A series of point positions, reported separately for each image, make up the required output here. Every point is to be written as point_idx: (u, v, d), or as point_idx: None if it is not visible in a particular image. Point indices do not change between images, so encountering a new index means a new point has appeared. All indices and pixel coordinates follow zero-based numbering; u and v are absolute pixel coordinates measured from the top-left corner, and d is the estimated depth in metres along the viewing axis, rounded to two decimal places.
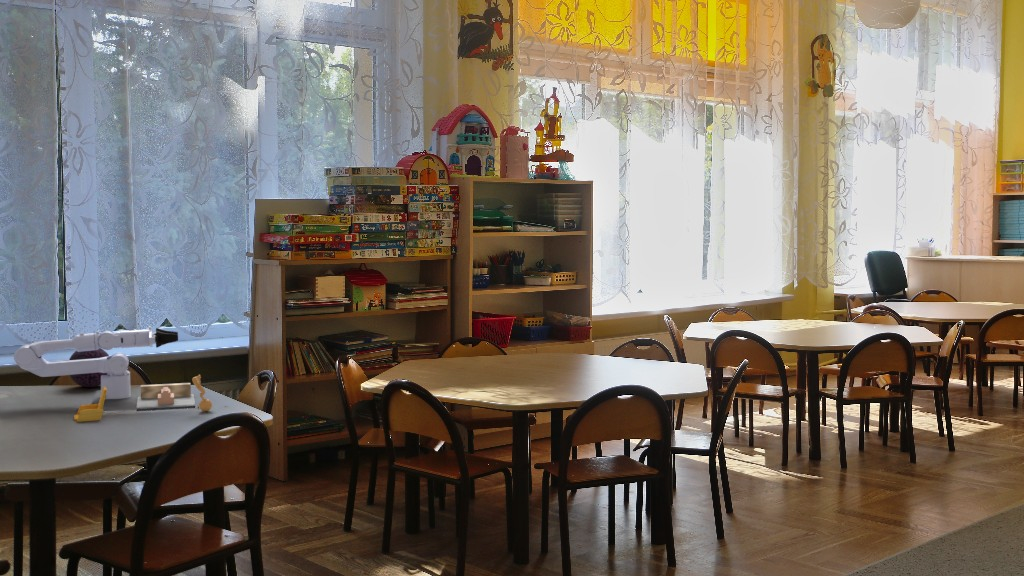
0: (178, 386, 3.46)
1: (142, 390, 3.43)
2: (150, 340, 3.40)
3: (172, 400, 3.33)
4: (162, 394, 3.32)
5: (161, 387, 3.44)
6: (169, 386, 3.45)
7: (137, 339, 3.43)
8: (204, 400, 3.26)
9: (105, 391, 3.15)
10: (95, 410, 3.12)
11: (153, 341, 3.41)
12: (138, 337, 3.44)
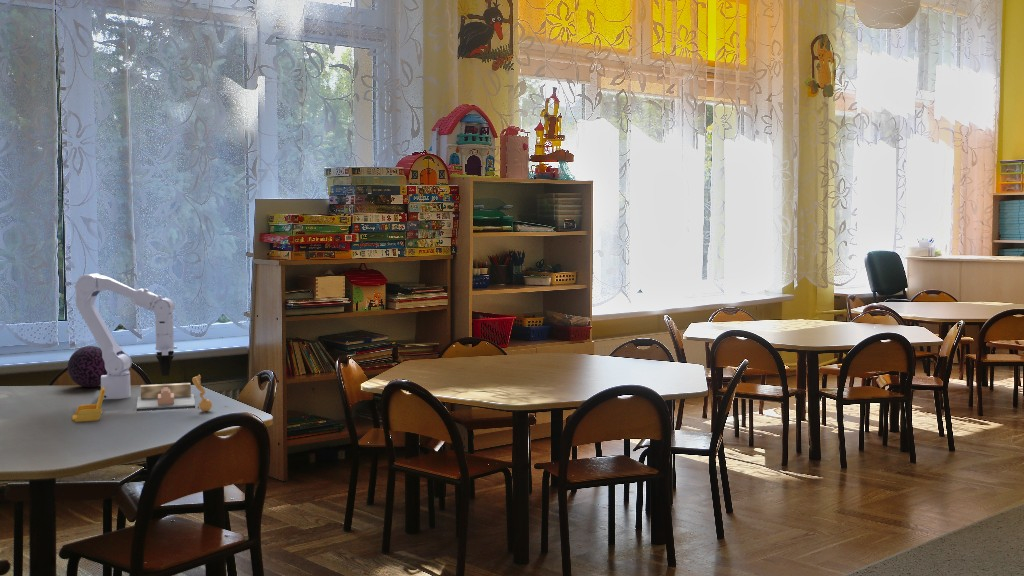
0: (178, 386, 3.46)
1: (142, 390, 3.43)
2: (164, 350, 3.38)
3: (172, 400, 3.33)
4: (162, 394, 3.32)
5: (161, 387, 3.44)
6: (169, 386, 3.45)
7: (164, 336, 3.42)
8: (204, 400, 3.26)
9: (103, 391, 3.14)
10: (93, 410, 3.12)
11: (163, 353, 3.38)
12: (166, 337, 3.43)
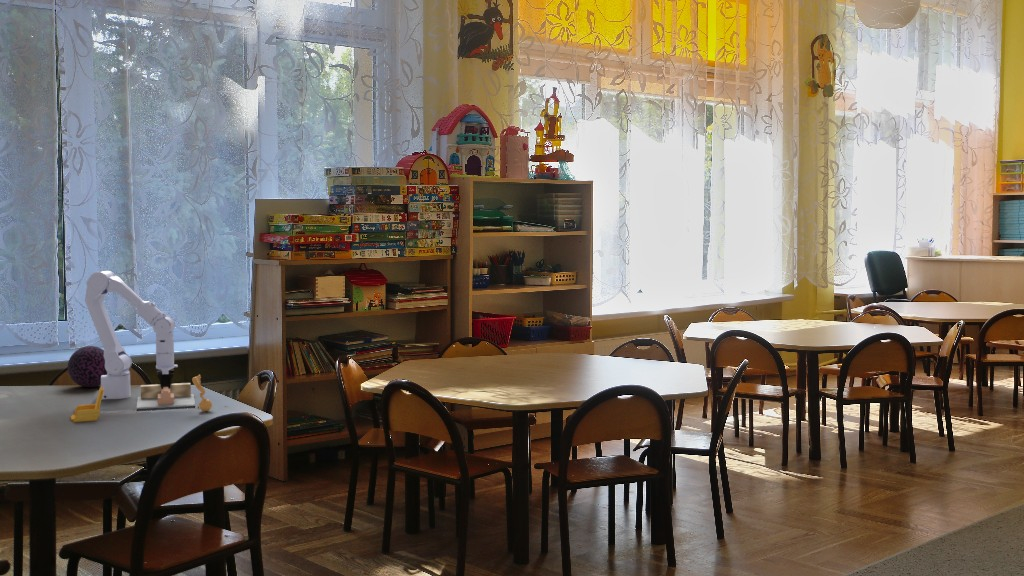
0: (178, 386, 3.46)
1: (142, 390, 3.43)
2: (165, 369, 3.39)
3: (172, 400, 3.33)
4: (162, 394, 3.32)
5: None
6: None
7: (165, 355, 3.43)
8: (204, 400, 3.26)
9: (102, 391, 3.14)
10: (92, 410, 3.12)
11: (163, 372, 3.39)
12: (166, 356, 3.43)
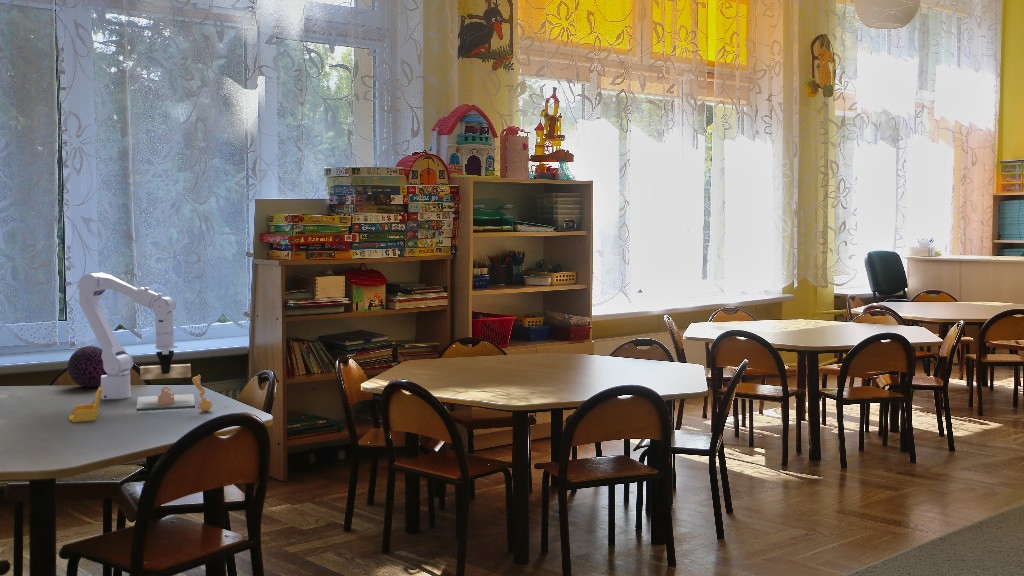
0: (178, 367, 3.43)
1: (142, 371, 3.39)
2: (165, 349, 3.36)
3: (172, 400, 3.33)
4: (162, 394, 3.32)
5: None
6: None
7: (164, 335, 3.40)
8: (204, 400, 3.26)
9: (100, 391, 3.14)
10: (90, 410, 3.12)
11: (163, 352, 3.36)
12: (166, 336, 3.40)
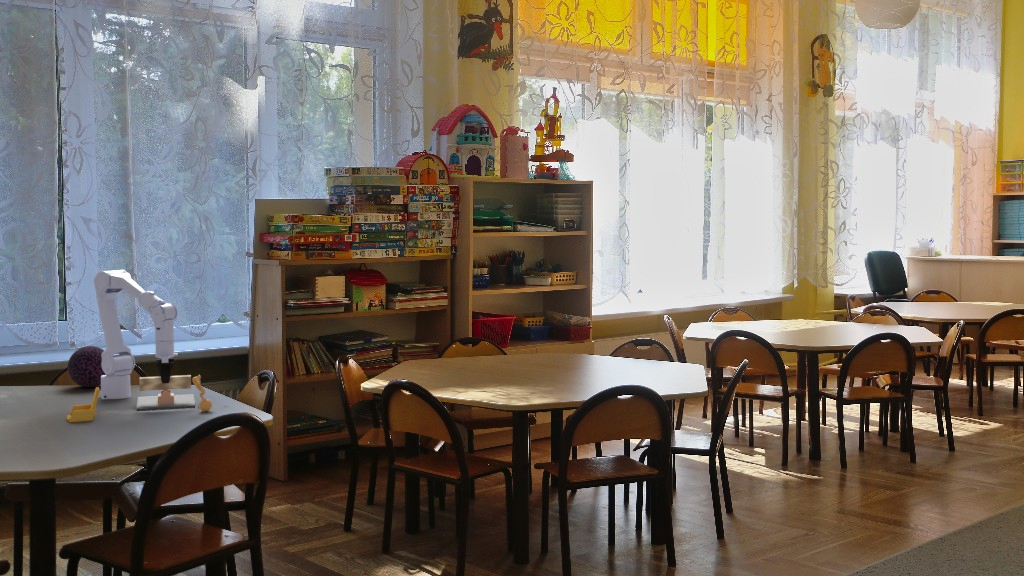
0: (178, 378, 3.35)
1: (141, 382, 3.32)
2: (164, 358, 3.28)
3: (172, 400, 3.33)
4: (162, 394, 3.32)
5: None
6: None
7: (164, 343, 3.32)
8: (204, 400, 3.26)
9: (98, 391, 3.14)
10: (87, 410, 3.12)
11: (163, 361, 3.28)
12: (166, 344, 3.32)
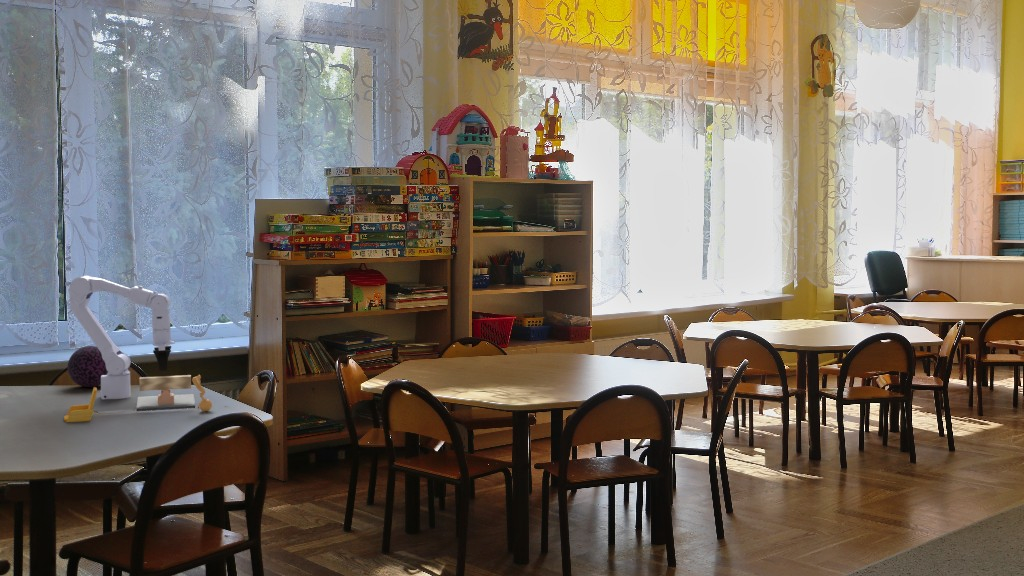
0: (178, 378, 3.35)
1: (141, 382, 3.32)
2: (161, 346, 3.40)
3: (172, 400, 3.33)
4: (162, 394, 3.32)
5: (161, 379, 3.34)
6: (168, 378, 3.34)
7: (161, 332, 3.43)
8: (204, 400, 3.26)
9: (95, 392, 3.14)
10: (85, 411, 3.11)
11: (160, 348, 3.40)
12: (163, 333, 3.44)
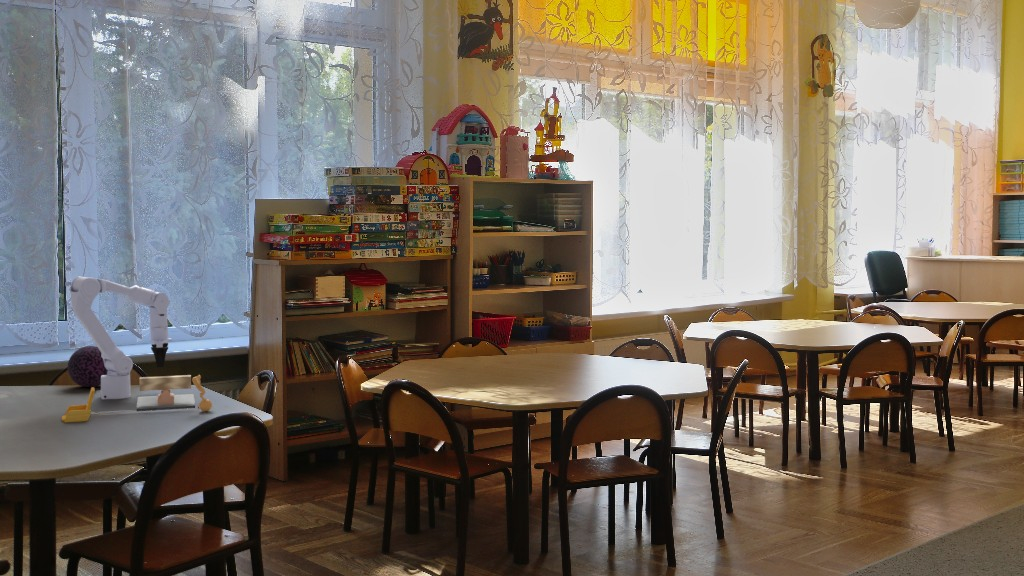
0: (178, 378, 3.35)
1: (141, 382, 3.32)
2: (159, 343, 3.47)
3: (172, 400, 3.33)
4: (162, 394, 3.32)
5: (161, 379, 3.34)
6: (168, 378, 3.34)
7: (159, 329, 3.51)
8: (204, 400, 3.26)
9: (93, 392, 3.13)
10: (82, 411, 3.11)
11: (158, 346, 3.47)
12: (160, 330, 3.52)
